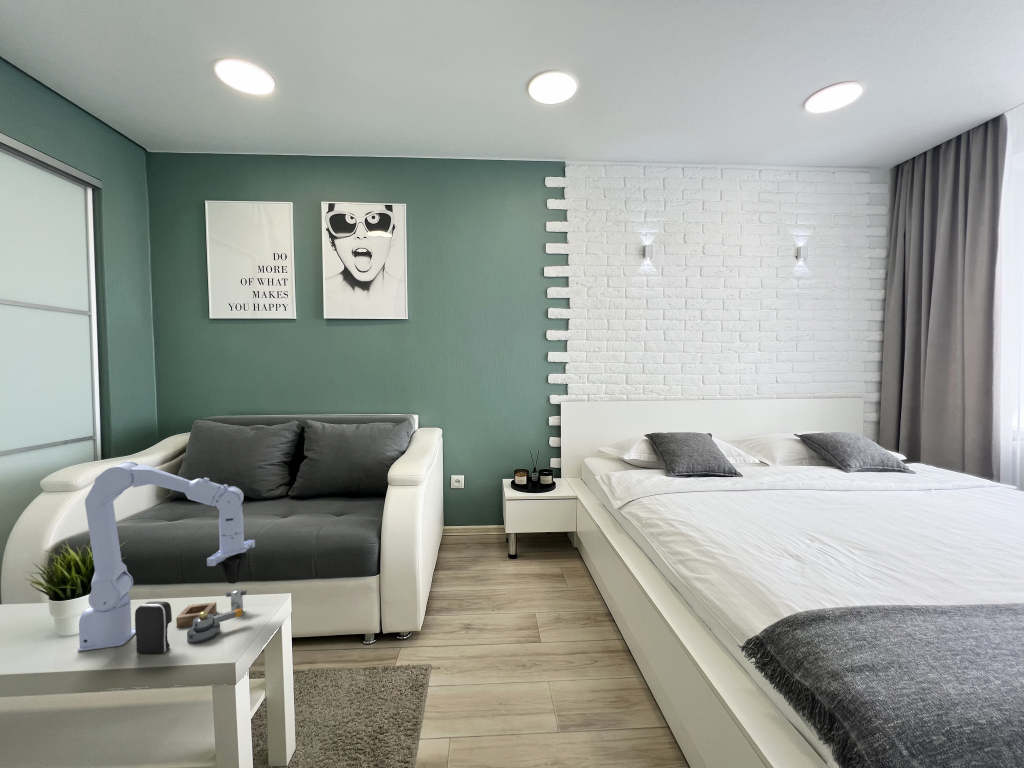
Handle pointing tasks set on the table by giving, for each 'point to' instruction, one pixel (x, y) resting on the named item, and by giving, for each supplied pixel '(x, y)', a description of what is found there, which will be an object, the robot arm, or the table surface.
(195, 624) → the collar
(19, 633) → the table surface
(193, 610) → the holder
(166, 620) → the battery charger
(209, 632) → the base
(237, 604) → the key
